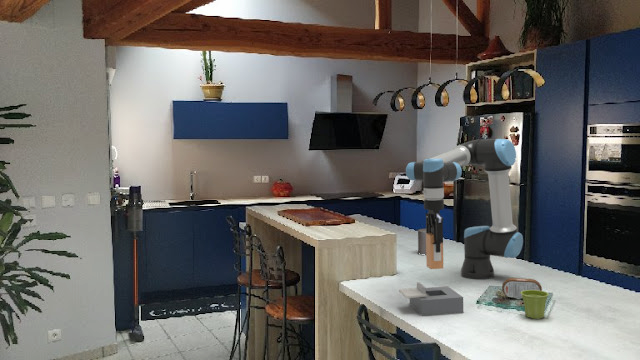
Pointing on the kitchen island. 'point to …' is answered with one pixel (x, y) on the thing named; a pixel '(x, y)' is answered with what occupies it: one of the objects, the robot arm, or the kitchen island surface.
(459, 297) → the socket
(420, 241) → the pillar candle
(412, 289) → the shutter
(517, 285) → the tin
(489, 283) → the kitchen island surface
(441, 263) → the orange square bottle
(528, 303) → the plant pot
